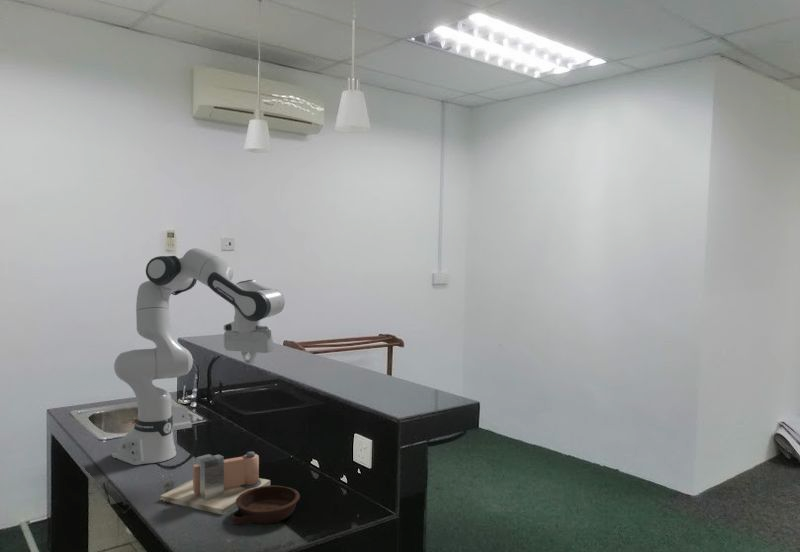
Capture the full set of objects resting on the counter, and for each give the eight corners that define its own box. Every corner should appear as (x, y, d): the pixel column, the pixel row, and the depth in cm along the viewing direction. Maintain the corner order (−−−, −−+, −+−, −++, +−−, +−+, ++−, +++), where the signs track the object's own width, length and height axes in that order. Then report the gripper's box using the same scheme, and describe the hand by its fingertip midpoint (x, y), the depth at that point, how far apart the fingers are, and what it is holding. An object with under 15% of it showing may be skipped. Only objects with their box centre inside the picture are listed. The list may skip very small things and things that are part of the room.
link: (256, 477, 187) (256, 449, 186) (260, 483, 182) (260, 454, 182) (192, 489, 177) (192, 459, 176) (195, 495, 173) (195, 464, 172)
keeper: (215, 489, 179) (215, 452, 178) (223, 494, 175) (223, 456, 175) (196, 495, 174) (196, 457, 174) (204, 500, 171) (204, 461, 170)
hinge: (150, 434, 235) (148, 409, 237) (147, 435, 238) (145, 410, 240) (192, 427, 244) (190, 403, 247) (189, 428, 248) (187, 404, 250)
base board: (160, 500, 174) (160, 494, 174) (212, 473, 195) (212, 467, 195) (222, 514, 165) (222, 508, 165) (270, 484, 186) (270, 479, 186)
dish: (317, 510, 170) (317, 493, 169) (254, 538, 153) (254, 519, 152) (279, 493, 181) (279, 477, 180) (216, 518, 164) (216, 500, 163)
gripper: (276, 325, 206) (278, 363, 207) (232, 323, 216) (234, 360, 217) (264, 327, 201) (266, 367, 202) (219, 325, 210) (222, 363, 211)
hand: (249, 363), depth 209 cm, fingers closed
